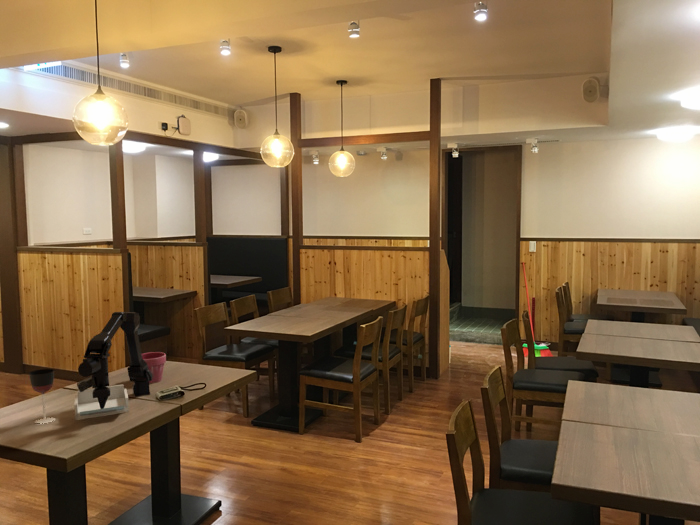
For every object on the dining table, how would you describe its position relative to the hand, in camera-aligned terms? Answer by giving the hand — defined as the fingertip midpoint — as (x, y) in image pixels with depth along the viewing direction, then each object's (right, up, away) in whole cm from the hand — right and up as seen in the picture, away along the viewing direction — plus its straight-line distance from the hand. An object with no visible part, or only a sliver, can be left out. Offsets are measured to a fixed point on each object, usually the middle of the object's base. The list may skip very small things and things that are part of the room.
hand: (102, 409), depth 222 cm
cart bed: (-5, -4, +12) cm, 14 cm away
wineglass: (-23, -5, +1) cm, 24 cm away
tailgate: (-2, -2, +5) cm, 6 cm away
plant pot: (+1, 0, +53) cm, 53 cm away
